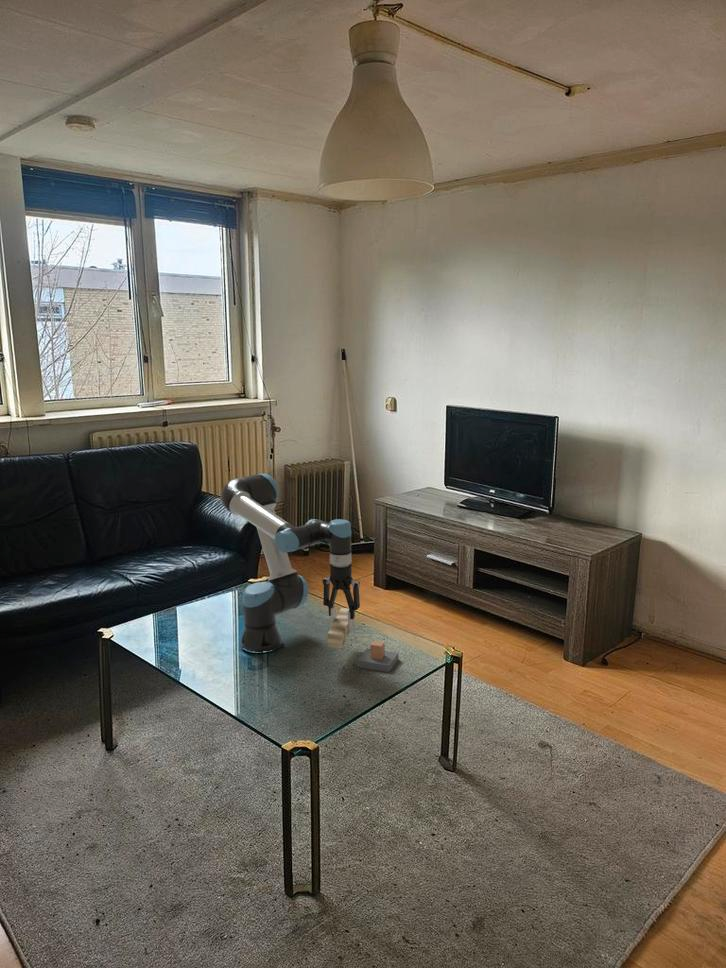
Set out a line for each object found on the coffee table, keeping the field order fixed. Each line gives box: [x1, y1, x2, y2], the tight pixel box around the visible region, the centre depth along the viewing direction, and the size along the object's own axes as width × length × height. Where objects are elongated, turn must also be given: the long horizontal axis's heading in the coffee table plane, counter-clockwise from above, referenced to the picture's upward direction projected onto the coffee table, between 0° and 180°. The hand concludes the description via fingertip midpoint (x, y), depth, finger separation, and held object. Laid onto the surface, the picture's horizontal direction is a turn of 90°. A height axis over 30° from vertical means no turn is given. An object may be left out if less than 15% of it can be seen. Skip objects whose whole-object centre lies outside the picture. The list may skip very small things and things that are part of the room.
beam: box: [327, 607, 356, 649], centre depth 244 cm, size 22×5×5 cm, turn 170°
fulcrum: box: [356, 640, 399, 673], centre depth 241 cm, size 12×10×8 cm
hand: (341, 625), depth 244 cm, fingers closed on beam, 6 cm apart
